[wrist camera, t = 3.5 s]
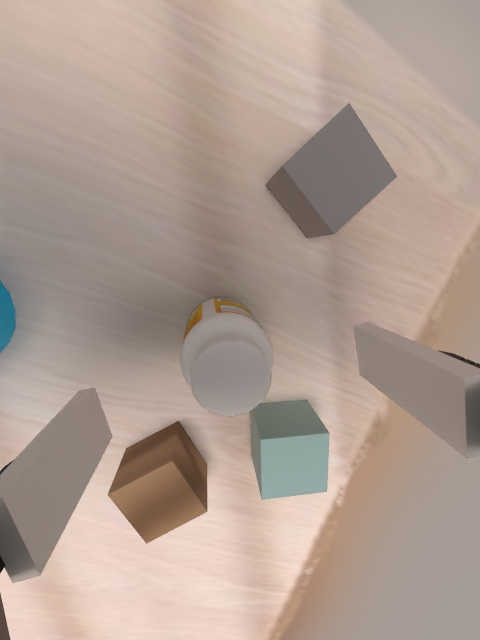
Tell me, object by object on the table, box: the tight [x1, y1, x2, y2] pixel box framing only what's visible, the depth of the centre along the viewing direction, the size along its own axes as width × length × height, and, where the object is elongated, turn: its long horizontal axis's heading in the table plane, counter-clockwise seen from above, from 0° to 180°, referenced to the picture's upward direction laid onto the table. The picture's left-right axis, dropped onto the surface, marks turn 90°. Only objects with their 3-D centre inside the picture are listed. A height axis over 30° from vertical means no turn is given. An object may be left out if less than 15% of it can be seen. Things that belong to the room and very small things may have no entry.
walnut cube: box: [108, 421, 207, 544], centre depth 23 cm, size 5×5×5 cm
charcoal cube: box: [266, 104, 397, 238], centre depth 20 cm, size 5×5×5 cm
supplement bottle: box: [181, 297, 273, 416], centre depth 19 cm, size 5×5×10 cm
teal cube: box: [250, 400, 329, 500], centre depth 24 cm, size 5×5×5 cm
